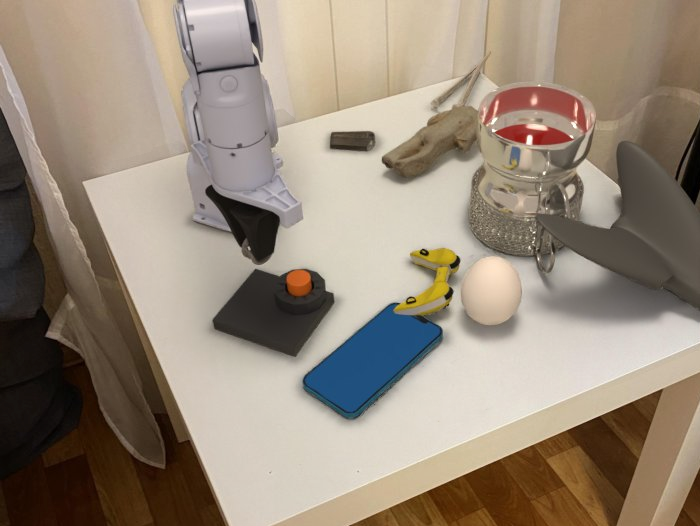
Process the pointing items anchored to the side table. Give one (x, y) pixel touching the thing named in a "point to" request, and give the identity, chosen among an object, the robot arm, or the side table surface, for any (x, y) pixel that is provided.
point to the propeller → (642, 229)
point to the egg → (491, 291)
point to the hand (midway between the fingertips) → (257, 249)
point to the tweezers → (468, 89)
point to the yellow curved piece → (440, 290)
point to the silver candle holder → (529, 165)
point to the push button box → (274, 311)
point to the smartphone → (371, 360)
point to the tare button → (299, 283)
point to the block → (352, 140)
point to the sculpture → (434, 141)
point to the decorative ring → (249, 255)
